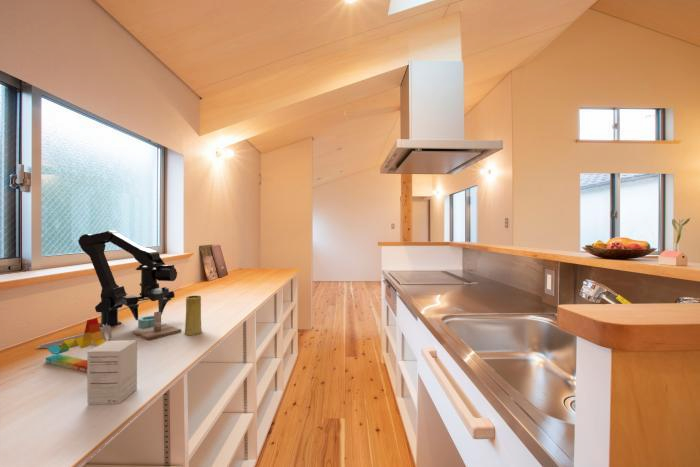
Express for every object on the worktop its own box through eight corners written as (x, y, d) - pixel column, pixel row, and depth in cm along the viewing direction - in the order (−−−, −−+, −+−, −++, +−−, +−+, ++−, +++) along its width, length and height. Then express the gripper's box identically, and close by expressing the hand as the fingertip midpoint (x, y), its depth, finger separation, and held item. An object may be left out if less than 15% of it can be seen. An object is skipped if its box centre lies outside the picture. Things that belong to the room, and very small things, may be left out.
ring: (135, 325, 133) (135, 318, 133) (153, 321, 139) (153, 314, 139) (144, 328, 129) (144, 321, 129) (162, 324, 135) (162, 317, 135)
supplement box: (107, 389, 81) (107, 340, 81) (137, 388, 82) (138, 339, 81) (85, 405, 74) (86, 351, 73) (119, 404, 74) (120, 350, 74)
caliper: (111, 339, 117) (111, 322, 117) (111, 340, 116) (111, 323, 116) (36, 349, 107) (36, 330, 107) (35, 350, 106) (35, 331, 106)
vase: (205, 331, 127) (205, 295, 127) (193, 336, 121) (193, 298, 121) (193, 329, 129) (193, 294, 129) (180, 334, 123) (181, 297, 123)
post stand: (133, 334, 123) (133, 313, 122) (165, 326, 133) (165, 307, 133) (148, 340, 116) (148, 318, 116) (181, 331, 126) (181, 311, 126)
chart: (44, 364, 96) (45, 314, 96) (57, 359, 99) (57, 311, 99) (116, 381, 86) (116, 325, 86) (128, 375, 89) (128, 322, 89)
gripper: (133, 286, 121) (133, 326, 122) (181, 279, 137) (181, 315, 137) (120, 282, 127) (120, 321, 128) (167, 277, 143) (167, 312, 143)
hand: (148, 317), depth 134 cm, fingers open, 9 cm apart
